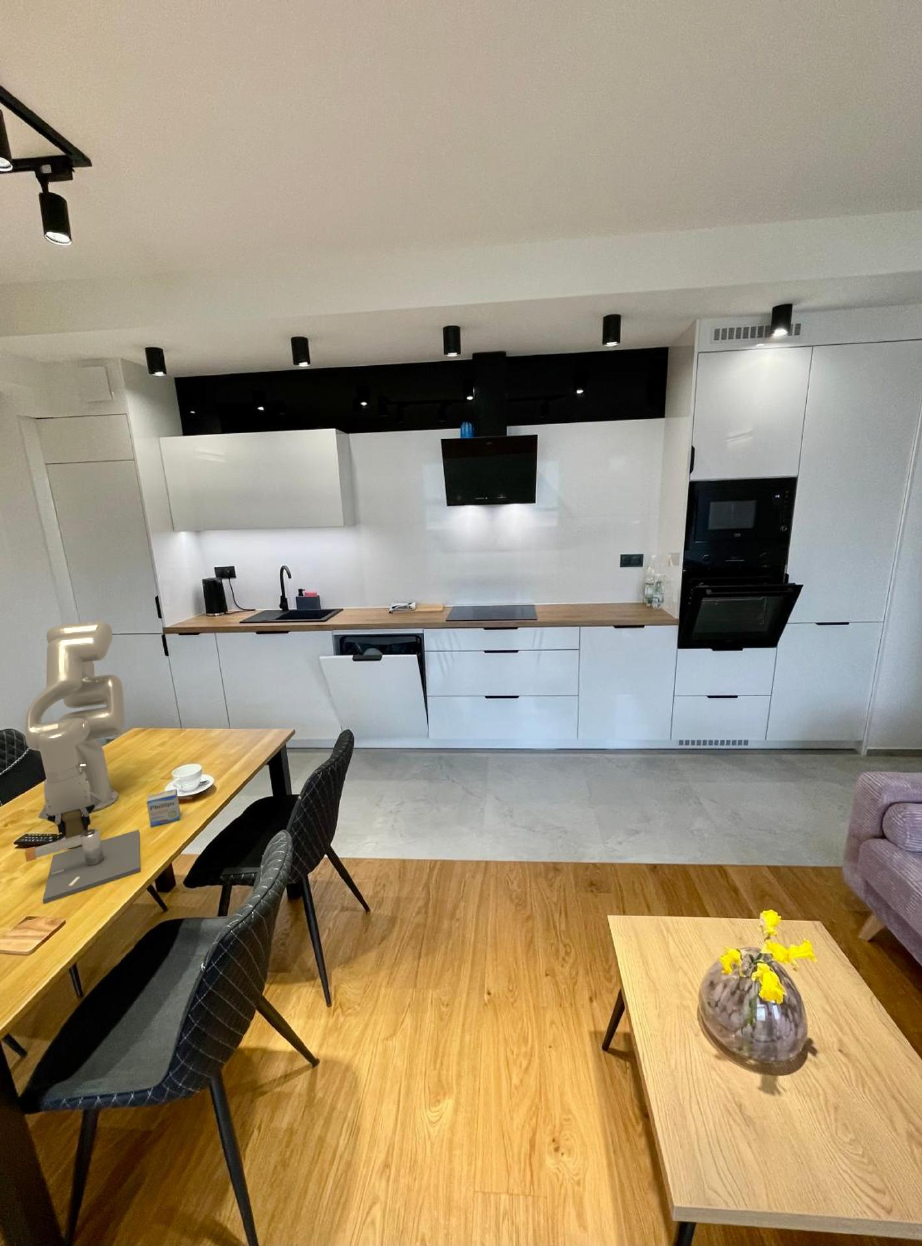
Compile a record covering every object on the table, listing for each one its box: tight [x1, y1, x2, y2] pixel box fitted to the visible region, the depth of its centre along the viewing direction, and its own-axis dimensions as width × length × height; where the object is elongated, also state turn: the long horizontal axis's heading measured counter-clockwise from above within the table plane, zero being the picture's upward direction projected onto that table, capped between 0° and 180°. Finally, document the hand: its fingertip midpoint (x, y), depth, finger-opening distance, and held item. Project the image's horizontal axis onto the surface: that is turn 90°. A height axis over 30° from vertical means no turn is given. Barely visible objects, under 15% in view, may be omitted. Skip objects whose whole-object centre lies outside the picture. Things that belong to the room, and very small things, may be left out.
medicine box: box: [146, 788, 181, 828], centre depth 156 cm, size 8×4×9 cm, turn 117°
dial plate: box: [42, 829, 141, 905], centre depth 137 cm, size 20×20×2 cm
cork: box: [61, 809, 87, 850], centre depth 146 cm, size 6×6×11 cm
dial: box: [24, 828, 104, 865], centre depth 133 cm, size 15×4×8 cm, turn 122°
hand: (75, 830), depth 147 cm, fingers closed on cork, 4 cm apart
